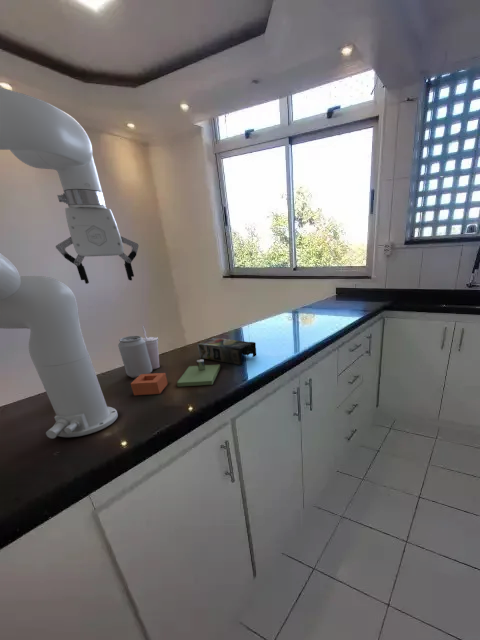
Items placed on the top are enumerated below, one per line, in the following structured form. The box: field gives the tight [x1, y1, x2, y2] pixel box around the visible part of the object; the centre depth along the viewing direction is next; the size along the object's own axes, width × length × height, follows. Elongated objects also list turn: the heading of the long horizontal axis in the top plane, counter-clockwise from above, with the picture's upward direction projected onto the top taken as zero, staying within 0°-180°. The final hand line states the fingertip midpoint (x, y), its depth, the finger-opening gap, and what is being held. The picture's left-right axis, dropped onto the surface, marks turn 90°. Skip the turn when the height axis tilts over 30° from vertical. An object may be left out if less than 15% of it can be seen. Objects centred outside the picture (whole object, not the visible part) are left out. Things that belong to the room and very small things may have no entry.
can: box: [117, 335, 153, 379], centre depth 96 cm, size 8×8×12 cm
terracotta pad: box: [130, 372, 169, 396], centre depth 87 cm, size 7×7×4 cm
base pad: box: [176, 358, 221, 387], centre depth 95 cm, size 14×10×4 cm
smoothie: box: [141, 325, 160, 370], centre depth 102 cm, size 6×6×14 cm
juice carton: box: [197, 337, 257, 366], centre depth 110 cm, size 20×10×6 cm, turn 62°
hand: (109, 281), depth 78 cm, fingers open, 9 cm apart
